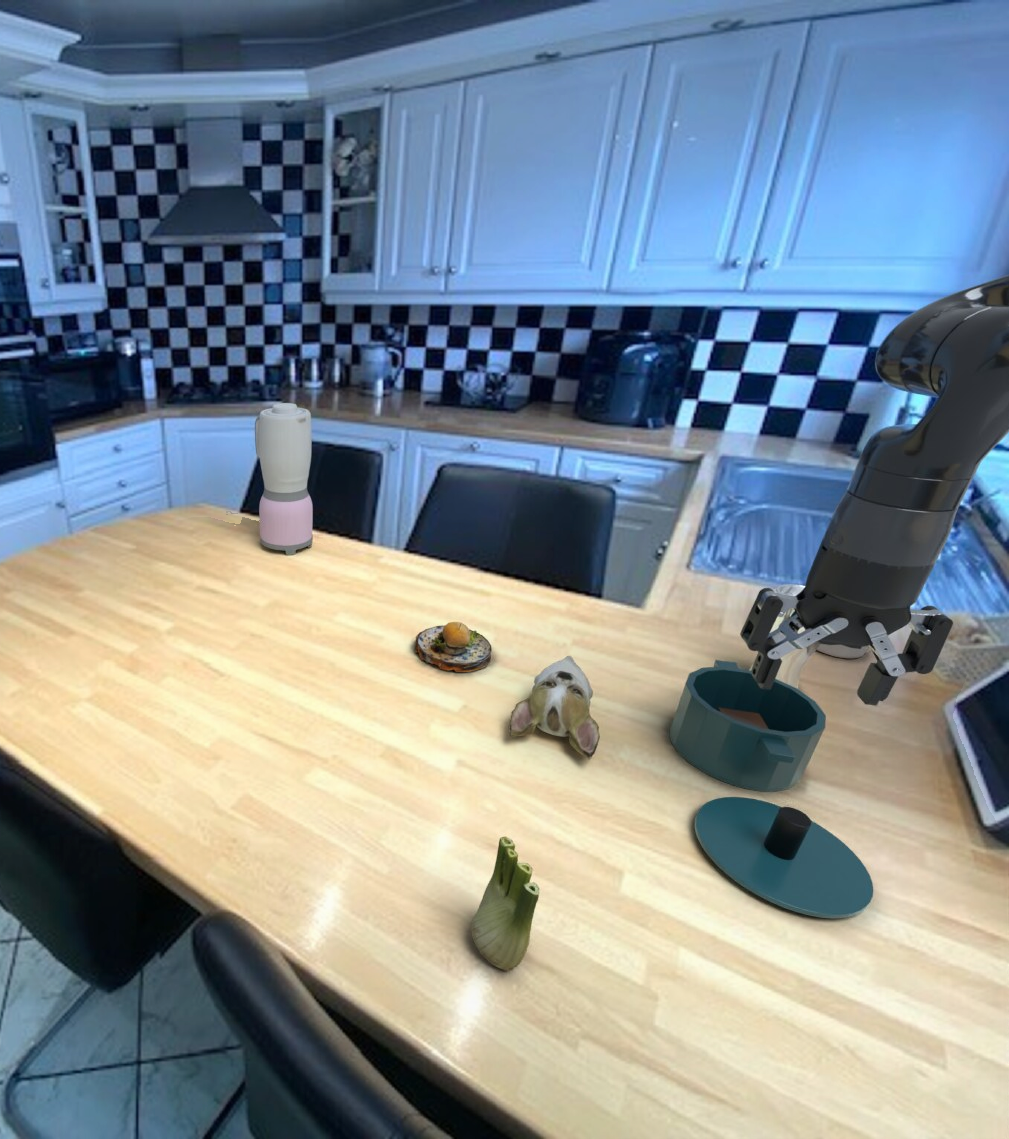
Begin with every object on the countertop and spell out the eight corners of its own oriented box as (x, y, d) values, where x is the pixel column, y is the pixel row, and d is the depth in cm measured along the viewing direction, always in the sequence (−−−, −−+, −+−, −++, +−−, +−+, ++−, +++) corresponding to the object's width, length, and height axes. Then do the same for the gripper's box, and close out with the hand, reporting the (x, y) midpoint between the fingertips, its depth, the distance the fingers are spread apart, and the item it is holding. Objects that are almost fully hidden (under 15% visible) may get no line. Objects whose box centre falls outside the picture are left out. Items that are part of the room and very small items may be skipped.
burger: (494, 641, 105) (500, 603, 101) (486, 680, 95) (493, 639, 92) (422, 628, 109) (425, 590, 106) (408, 663, 100) (411, 623, 97)
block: (748, 740, 81) (759, 713, 79) (761, 764, 77) (773, 736, 75) (707, 734, 82) (717, 707, 80) (718, 757, 78) (729, 729, 76)
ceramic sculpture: (615, 655, 84) (605, 724, 73) (602, 704, 89) (591, 777, 78) (531, 637, 90) (510, 698, 79) (523, 684, 94) (502, 749, 83)
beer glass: (812, 700, 88) (853, 608, 82) (757, 696, 89) (793, 605, 83) (782, 671, 95) (818, 584, 88) (731, 668, 96) (763, 582, 89)
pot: (766, 715, 86) (787, 664, 82) (832, 820, 70) (862, 762, 66) (654, 698, 90) (669, 649, 86) (691, 793, 74) (712, 738, 70)
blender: (324, 544, 144) (326, 404, 130) (285, 560, 137) (284, 414, 123) (277, 527, 155) (275, 396, 141) (240, 540, 148) (234, 404, 134)
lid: (827, 820, 70) (848, 780, 67) (902, 941, 57) (931, 898, 55) (677, 792, 74) (691, 753, 71) (716, 898, 62) (734, 856, 59)
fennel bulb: (525, 987, 55) (549, 896, 50) (466, 968, 56) (483, 877, 51) (524, 928, 60) (546, 840, 54) (471, 912, 61) (487, 824, 56)
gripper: (955, 538, 57) (881, 684, 64) (767, 522, 61) (718, 660, 68) (1013, 573, 50) (924, 730, 57) (798, 552, 55) (740, 701, 62)
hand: (812, 692), depth 63 cm, fingers open, 8 cm apart
